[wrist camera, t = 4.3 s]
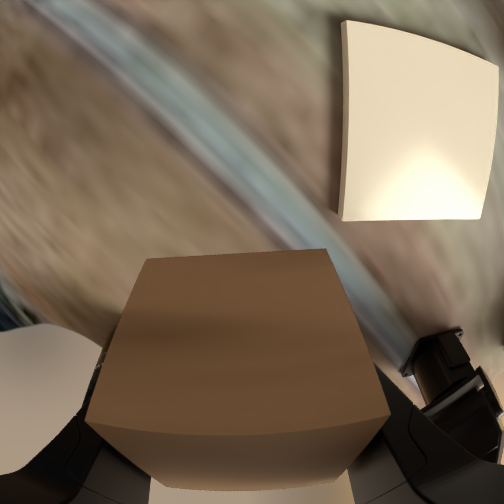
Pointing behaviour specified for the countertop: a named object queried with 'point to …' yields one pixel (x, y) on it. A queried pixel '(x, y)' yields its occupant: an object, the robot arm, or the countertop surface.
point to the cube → (239, 374)
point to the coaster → (414, 127)
